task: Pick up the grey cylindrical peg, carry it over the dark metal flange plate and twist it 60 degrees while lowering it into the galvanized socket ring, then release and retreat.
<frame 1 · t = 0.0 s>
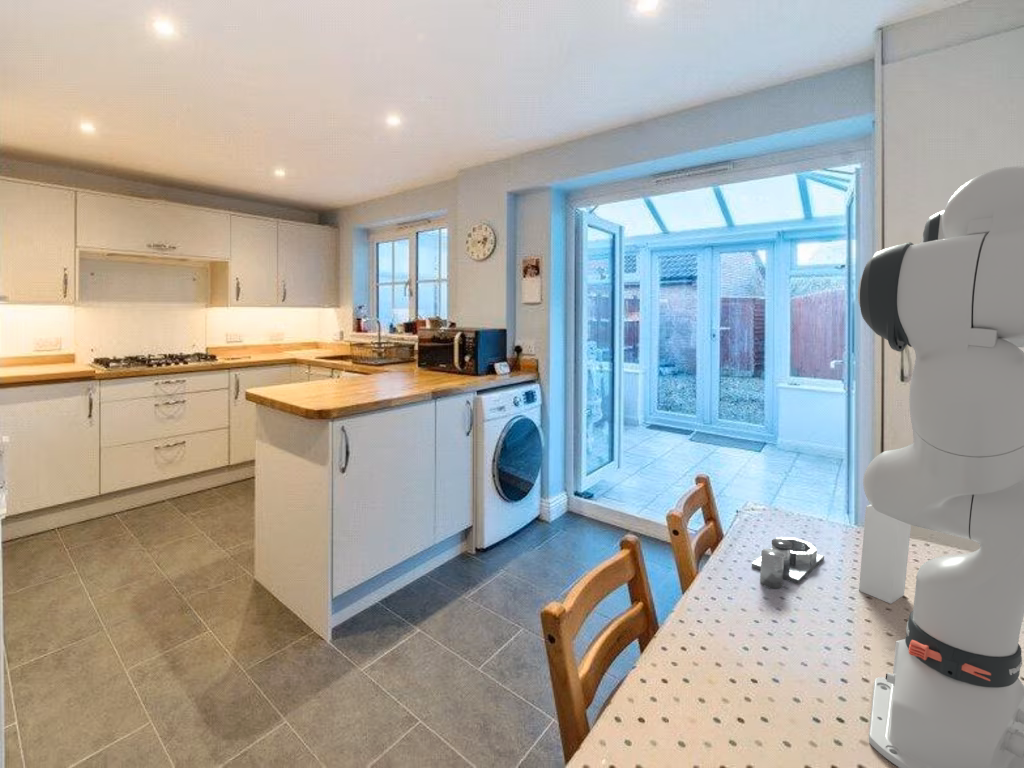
hand: (1015, 373, 85), 48 cm above the table, fingers open, 8 cm apart
grey cylindrical peg: (771, 583, 110), on the table
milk: (881, 593, 105), on the table
flange: (788, 563, 118), on the table
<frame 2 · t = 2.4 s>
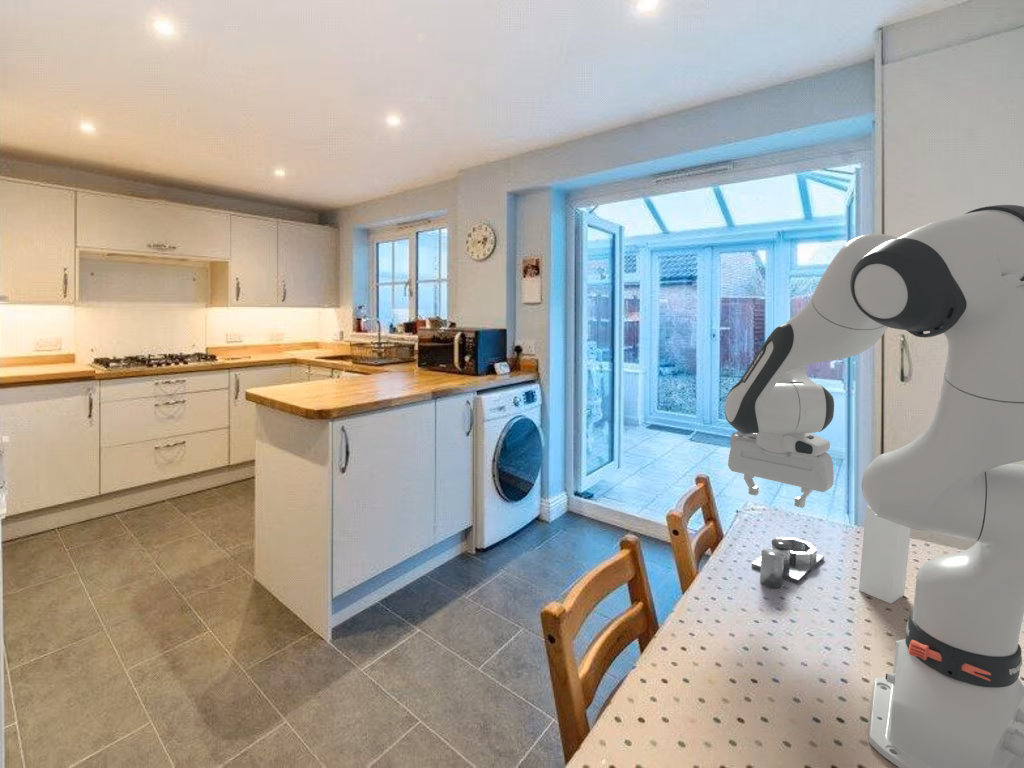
hand: (775, 500, 107), 19 cm above the table, fingers open, 8 cm apart
nothing on the table moved.
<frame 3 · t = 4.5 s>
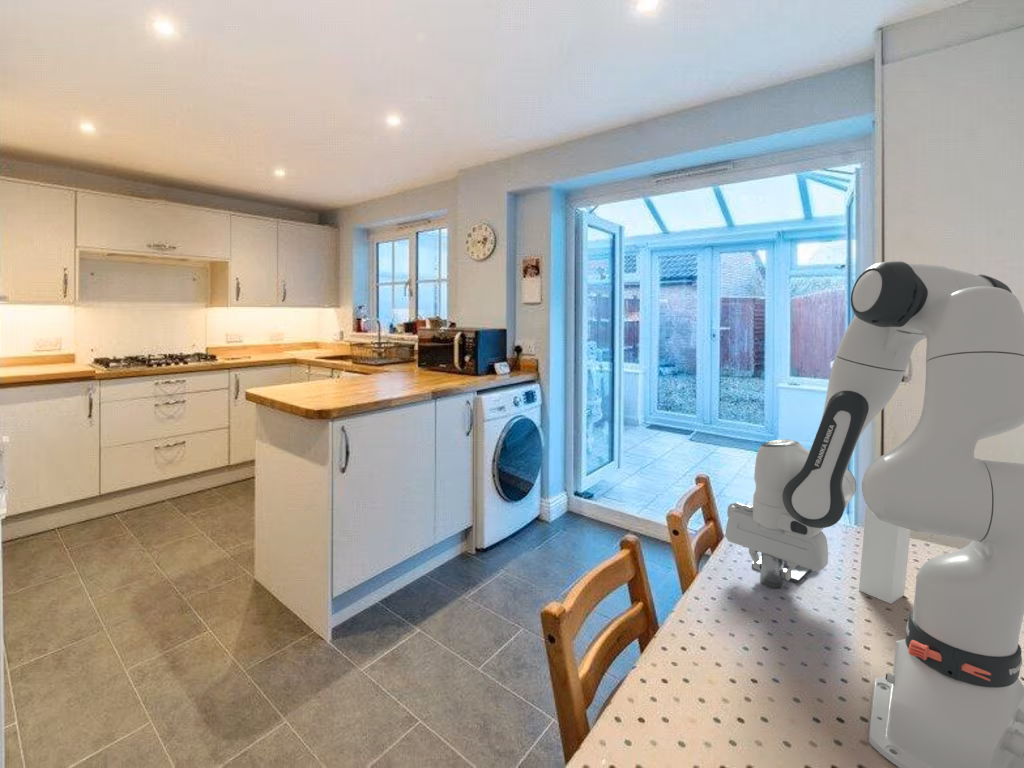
hand: (771, 573, 109), 2 cm above the table, fingers closed on grey cylindrical peg, 4 cm apart
grey cylindrical peg: (771, 583, 110), on the table, touching gripper
everything else where it was.
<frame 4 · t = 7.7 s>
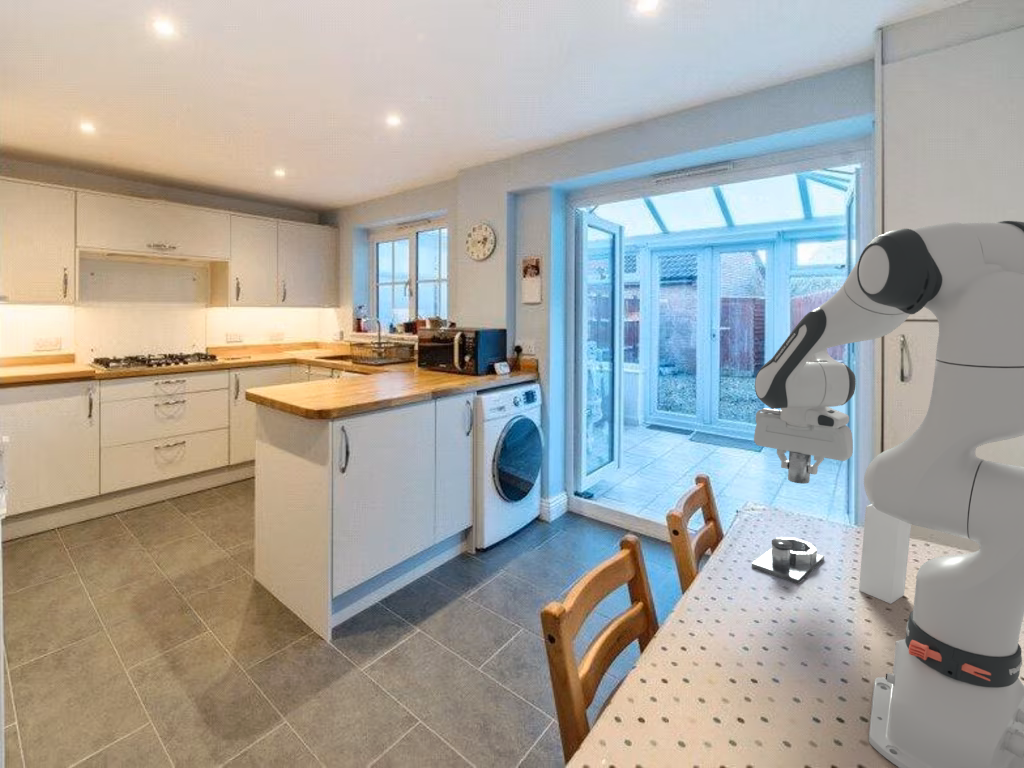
hand: (798, 470, 117), 22 cm above the table, fingers closed on grey cylindrical peg, 4 cm apart
grey cylindrical peg: (798, 480, 117), point 20 cm above the table, touching gripper
everything else where it was.
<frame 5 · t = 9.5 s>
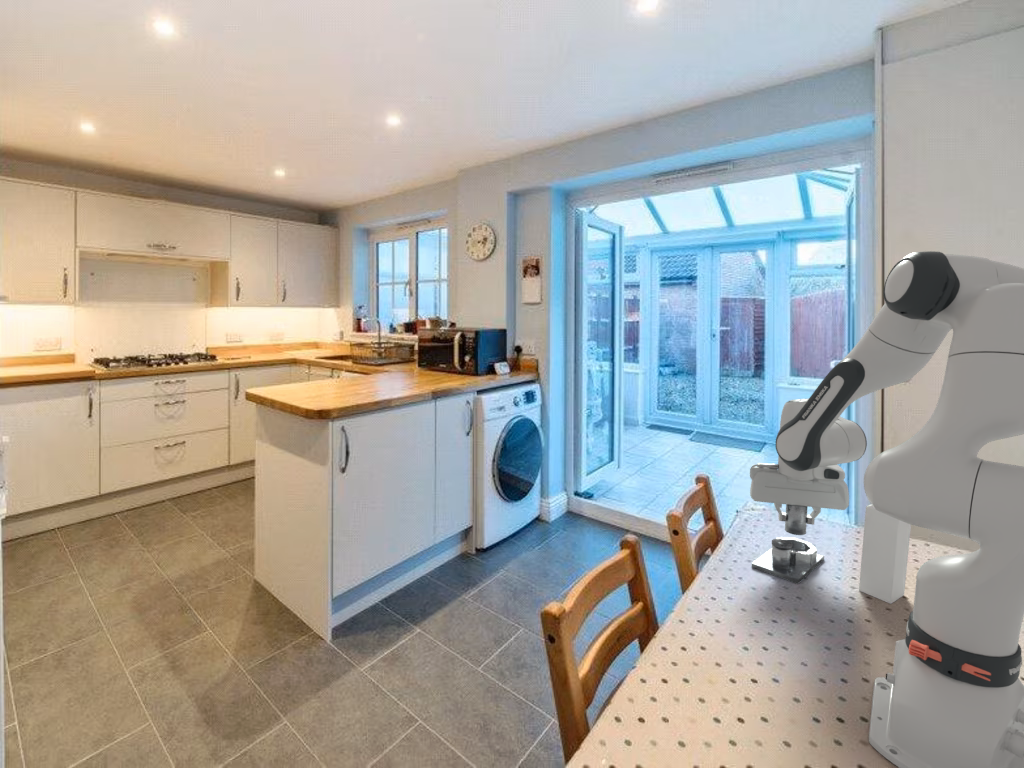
hand: (796, 521, 119), 9 cm above the table, fingers closed on grey cylindrical peg, 4 cm apart
grey cylindrical peg: (795, 531, 119), point 7 cm above the table, touching gripper
everything else where it was.
when the fingers open (5 cm above the table, at t = 10.9 s): grey cylindrical peg drops 1 cm, resting on flange.
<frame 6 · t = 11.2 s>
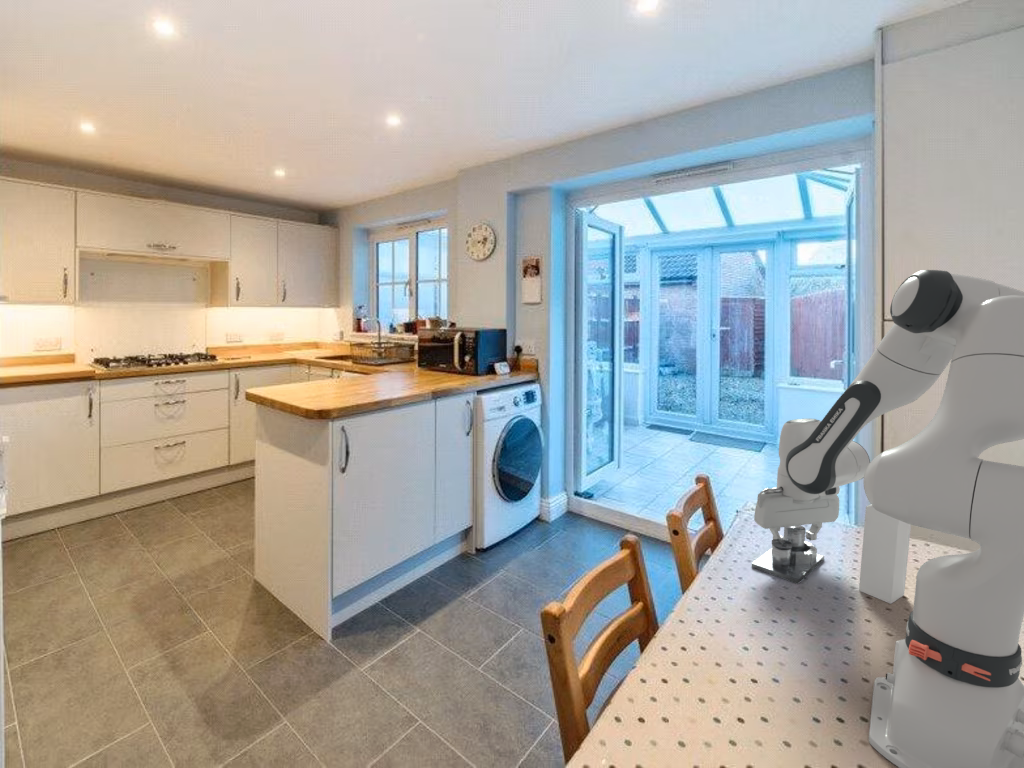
hand: (794, 541, 119), 5 cm above the table, fingers open, 8 cm apart
grey cylindrical peg: (793, 554, 120), point 1 cm above the table, touching flange
everything else where it was.
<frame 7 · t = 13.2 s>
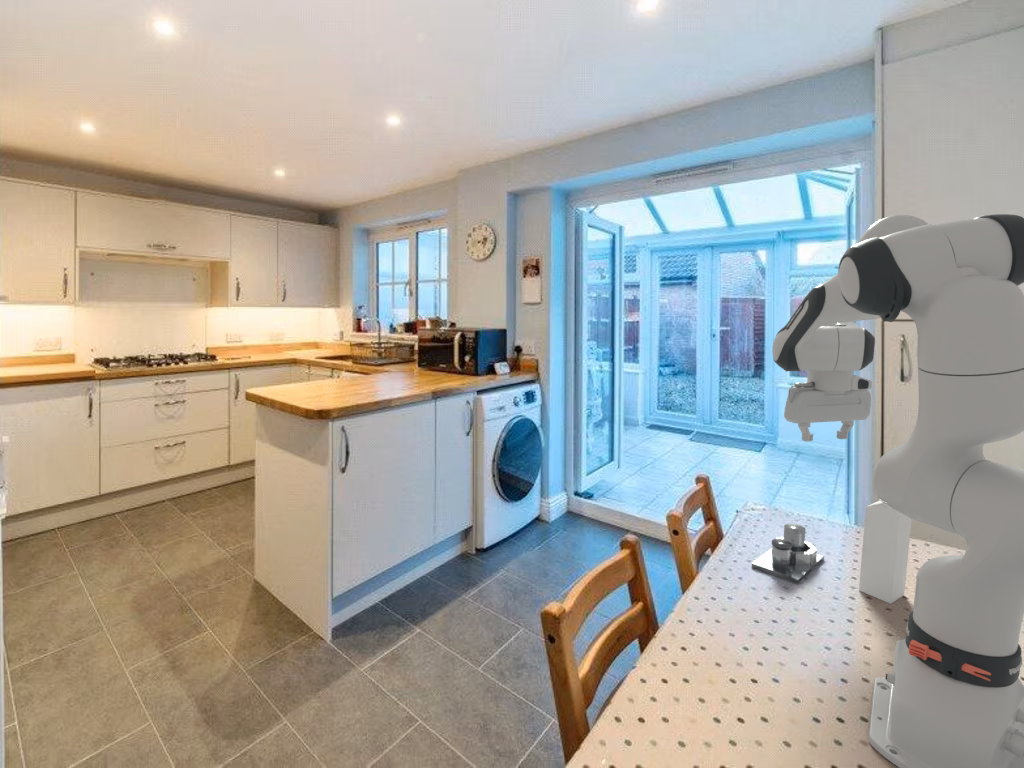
hand: (824, 439, 117), 29 cm above the table, fingers open, 8 cm apart
nothing on the table moved.
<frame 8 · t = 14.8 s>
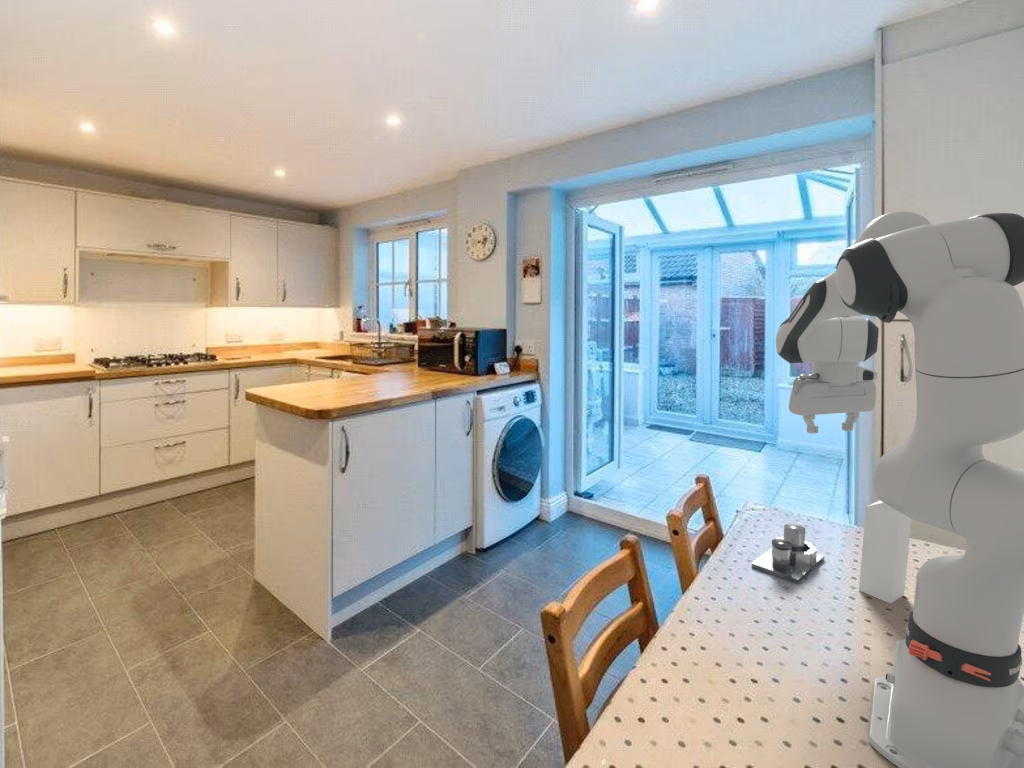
hand: (829, 431, 116), 31 cm above the table, fingers open, 8 cm apart
nothing on the table moved.
at the end: grey cylindrical peg 0.1 cm from the target spot on the flange, point 1.0 cm above the flange's base; grey cylindrical peg tilted 0°; the gripper is holding nothing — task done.
